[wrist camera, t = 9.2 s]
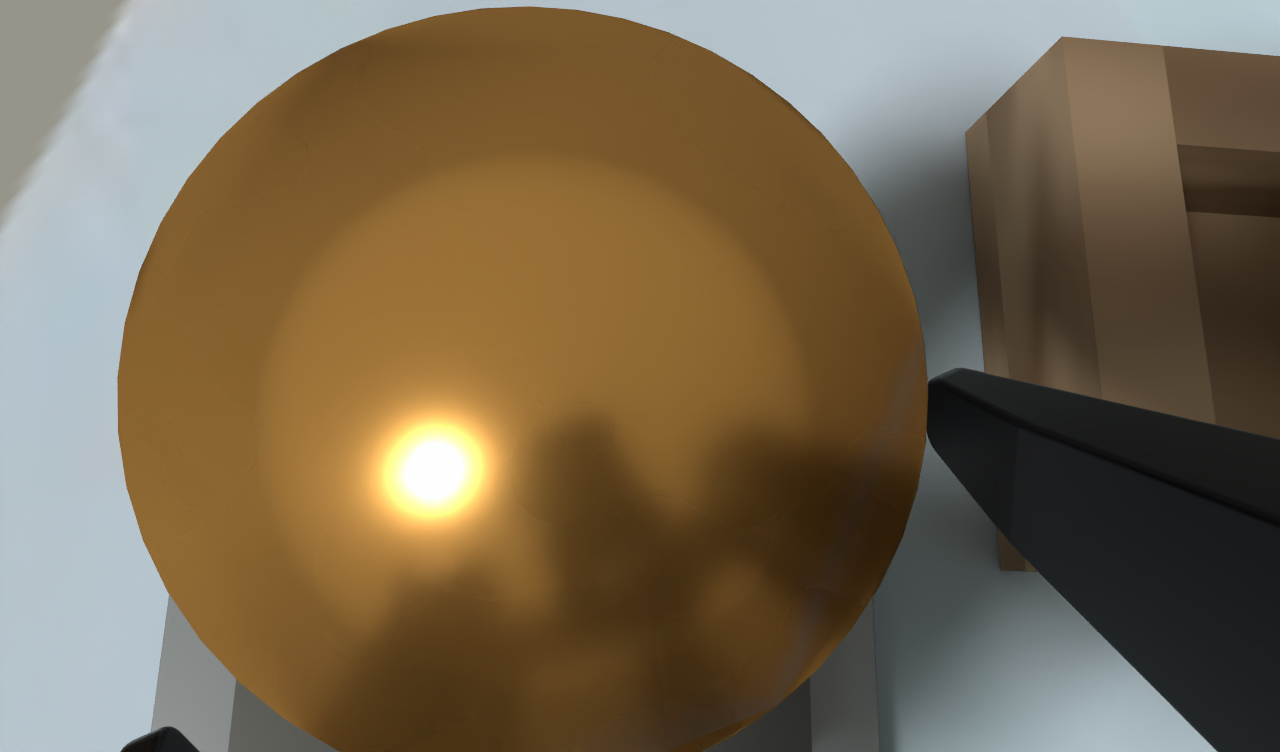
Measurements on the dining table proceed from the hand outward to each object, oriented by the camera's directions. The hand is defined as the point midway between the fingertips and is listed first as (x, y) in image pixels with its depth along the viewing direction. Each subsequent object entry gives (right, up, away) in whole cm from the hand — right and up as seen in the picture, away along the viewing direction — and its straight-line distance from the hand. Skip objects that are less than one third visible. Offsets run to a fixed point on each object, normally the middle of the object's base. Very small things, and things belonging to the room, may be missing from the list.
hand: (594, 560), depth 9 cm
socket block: (+14, +3, +11) cm, 18 cm away
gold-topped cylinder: (-1, 0, +8) cm, 8 cm away
